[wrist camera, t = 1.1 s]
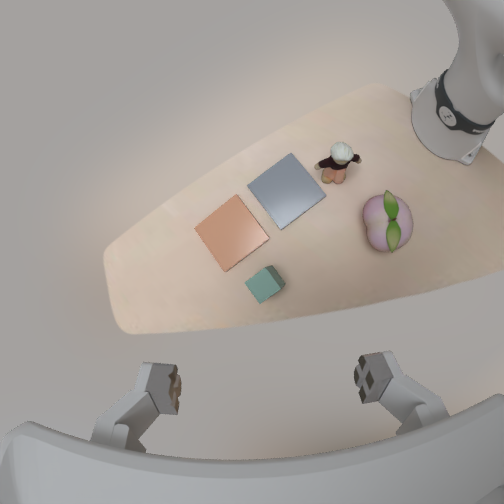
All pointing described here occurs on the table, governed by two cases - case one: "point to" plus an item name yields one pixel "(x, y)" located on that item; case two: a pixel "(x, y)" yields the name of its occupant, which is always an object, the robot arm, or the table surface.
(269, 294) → the green wooden block
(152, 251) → the table surface
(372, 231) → the decorative fruit
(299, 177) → the slate tile
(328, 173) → the grandmother figurine
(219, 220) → the terracotta tile
